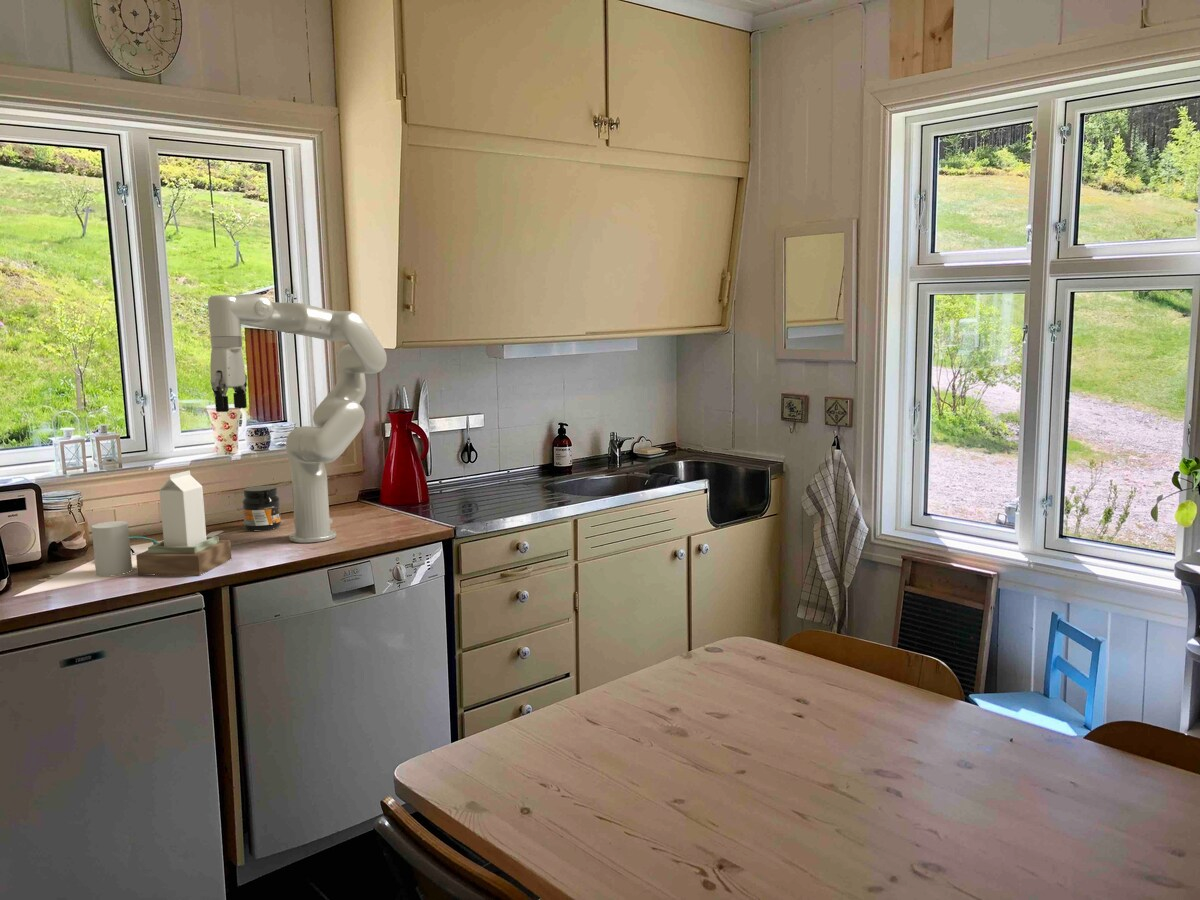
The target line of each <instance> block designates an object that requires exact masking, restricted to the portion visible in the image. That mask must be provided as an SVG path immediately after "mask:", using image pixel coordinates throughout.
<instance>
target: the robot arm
mask: <svg viewBox="0 0 1200 900" xmlns="http://www.w3.org/2000/svg"><path fill="white" fill-rule="evenodd" d="M207 307H208V308H207V310H208V321H209V323H208V324H209V335H210V336H209V337H210V346H211V352H210V361H209V362H210V367H209V368H210V381H209V382H210V385H211V390H212V392H213V396H214V403H215V404H214V405H215V412H217V413H225V412H226V413H228V412H229V410H230V409H229V396H228V395H227V393H228V390H229V389H233V391H234V393H232V395H233V404H234V408H235V409H247V408H248V406H247V405H248V403H247V387H248V384H247V379H248V375H247V374H246V372H245V369H246V368H245V363H244V362H245V361H244V356H243V351H242V349H243V338H242V337H243V336H242V335H243V334H242V325H243V326H249V327H253V328H258V329H264V330H271V331H275V332H276V331H277V332H281V333H286V334H293V335H298V336H304V337H310V338H315V339H319V340H323V341H324V340H325V341H330V342H347V343H348V344H345V345H344V346H342V347H341V348H340V349H339V351H338V352H337V353H338V354H337V365H338V373H339V375H338V380H337V382H336V384H335V385H334V386H333V388H332V389H331V390H330V392H329V393H328V394H327V395H326V396H325V397H324V399H323V400H322V401H321V402H320V404H318V405H317V407H316V408H315V410H314V412H313V417H312V420H313V424H314V425H315V426H309V425H308V426H306V425H305V426H304V425H303V426H298V427H296V428H294V429H292V430H291V431H290V432H289V434H288V435H287V437H286V442H285V450H286V454H287V458H288V462H289V468H290V474H291V475H290V476H291V477H290V478H291V488H292V489H291V491H292V504H293V505H292V508H293V522H294V532H293V533H291V534H290V535H289V541H291V542H294V543H302V544H303V543H304V544H306V543H307V544H308V543H310V544H311V543H318V542H325V541H329V540H332V539H334V538H336V536H337V531H336V530H333V529H331V524H333V521H334V520H333V518H331V517H330V507H329V506H330V505H329V503H330V502H329V486H328V473H327V469H326V466H325V464H328V463H333V462H334V461H336V460H337V459H338V458H339V457H340V456H341V455H342V454H343V453H344V452H345V451H346V449H347V448H348V447H349V446H350V445H351V443H352V442H353V441H354V439H356V438H357V436H358V434H359V433H360V432H361V430H362V428H363V426H364V424H365V420H366V415H365V409H364V407H362V405H361V402H362V401H363V399H364V398H365V396H366V391H367V390H366V389H367V382H366V375H365V374H371V375H372V374H377V373H379V372H382V370H384V368H385V367H386V366H387V362H388V361H387V360H388V358H387V353H386V350H385V348H384V346H383V344H382V343H381V342H380V340H379V339H378V337H377V336H376V334H375V332H374V331H373V330H372V329H371V327H370V326H369V324H368V323H367V322H366V320H365V319H364V318H363V317H362V315H360V314H359V313H357V312H355V311H353V310H346V311H345V310H342V311H341V310H340V311H338V310H331V309H328V308H322V307H319V306H315V305H311V304H306V303H300V302H278V301H277V302H274V301H271V300H270V299H269V297H267V296H264V295H262V294H259V293H258V294H257V293H249V294H248V293H247V294H236V295H232V294H217V295H216V294H215V295H211V296H209V297H208V300H207Z"/></svg>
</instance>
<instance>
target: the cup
mask: <svg viewBox="0 0 1200 900" xmlns="http://www.w3.org/2000/svg"><path fill="white" fill-rule="evenodd" d="M91 534H92V535H91V536H92V537H91V538H92V546H93V555H94V558H93V559H94V566H95V567H94V568H95V575H96V576H98V577H112V576H111V575H115V576H120V575H119V574H121V575H124V574H123V573H125V574H128V573H130V572H129V571H131V570H132V571H133V564H132V552H131V549H130V547H131V541H130V540H131V539H130V538H129V537H130V530H129V521H125V520H113V521H105V522H99V523H95V524H92V525H91ZM132 571H131V572H132ZM127 572H128V573H127Z"/></svg>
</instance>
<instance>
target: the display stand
mask: <svg viewBox="0 0 1200 900" xmlns="http://www.w3.org/2000/svg"><path fill="white" fill-rule="evenodd" d="M206 539H207V540H206V541H204V542H201V543H199V544H197V545H195V546H193V547H186V546H164V540H163V541H160V542H158V543H157V544H155V545H153V544H152V545H150V546H148V547H147V550H145V551H143V552H141V553H138V554H135V558H136V568H137V575H138V574H155V575H154V576H184V575H200V576H202V575H204V574H206V573H208V572H210V571H211V570H214V569H215V567H216V568H218V567H219V566H221V565H223V564H225V563H227V562H229V561H231V560H232V559H233V558H232V545H231V540H230V539H228V540H226V539H225V540H223V539H221V540H220V539H219V536H217V535H215V536H210V535H209V536H207V535H206ZM230 559H231V560H230ZM228 560H229V561H228ZM226 561H227V562H226ZM213 568H214V569H213ZM209 570H210V571H209ZM205 572H206V573H205ZM203 573H204V574H203ZM201 574H202V575H201Z"/></svg>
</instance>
